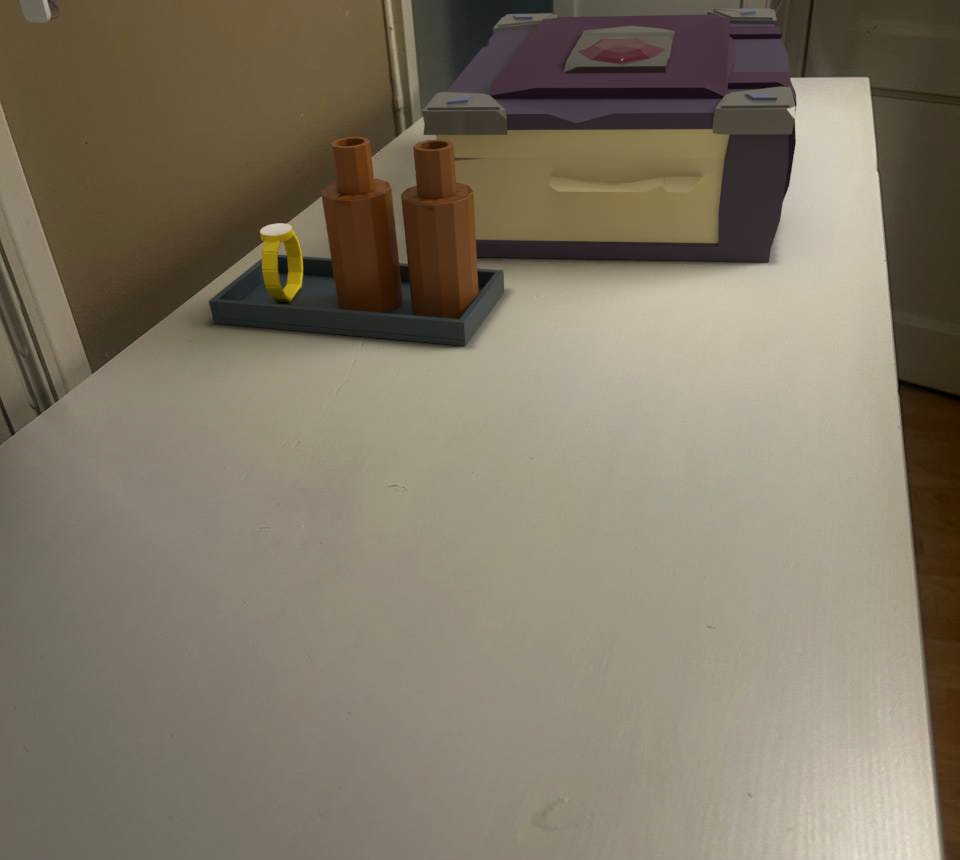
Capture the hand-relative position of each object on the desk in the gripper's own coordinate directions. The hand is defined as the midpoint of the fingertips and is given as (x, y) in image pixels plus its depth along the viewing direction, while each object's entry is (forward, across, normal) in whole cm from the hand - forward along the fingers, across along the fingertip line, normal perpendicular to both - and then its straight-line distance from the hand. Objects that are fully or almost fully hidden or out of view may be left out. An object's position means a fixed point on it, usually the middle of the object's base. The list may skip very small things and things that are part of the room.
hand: (85, 8), depth 68 cm
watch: (+23, -9, +7) cm, 26 cm away
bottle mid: (+23, -9, +15) cm, 29 cm away
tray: (+24, -9, +14) cm, 29 cm away
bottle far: (+23, -9, +22) cm, 33 cm away
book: (+23, -45, +31) cm, 59 cm away
